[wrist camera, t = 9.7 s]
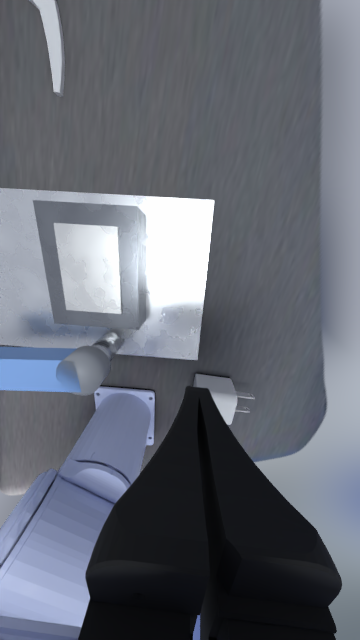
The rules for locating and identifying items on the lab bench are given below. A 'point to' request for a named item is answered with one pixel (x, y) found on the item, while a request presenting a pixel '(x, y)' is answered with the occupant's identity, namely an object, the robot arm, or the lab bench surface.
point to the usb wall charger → (222, 394)
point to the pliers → (53, 41)
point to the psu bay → (103, 271)
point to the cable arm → (53, 369)
